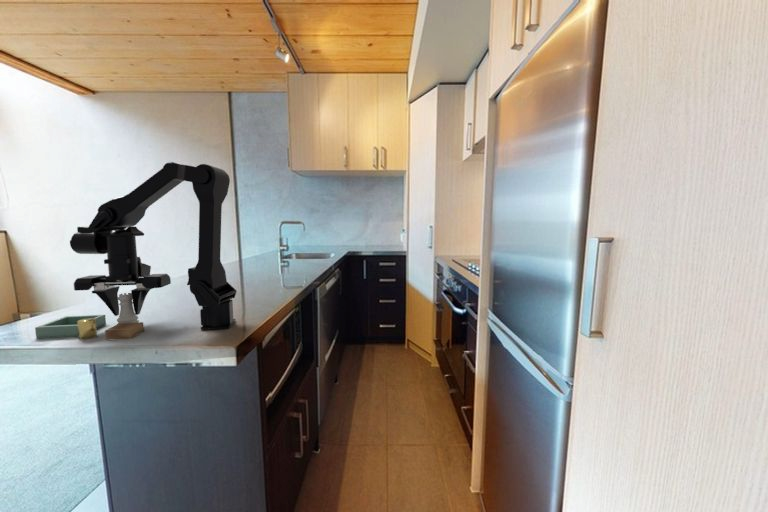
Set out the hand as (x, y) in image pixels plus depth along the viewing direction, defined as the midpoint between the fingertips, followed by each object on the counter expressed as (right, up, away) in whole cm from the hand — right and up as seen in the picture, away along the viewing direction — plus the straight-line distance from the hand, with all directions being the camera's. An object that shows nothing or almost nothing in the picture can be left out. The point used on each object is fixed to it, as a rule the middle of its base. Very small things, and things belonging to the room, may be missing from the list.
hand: (127, 314), depth 80 cm
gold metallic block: (-2, -3, -9) cm, 10 cm away
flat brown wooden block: (+6, -4, -7) cm, 10 cm away
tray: (-9, -3, -5) cm, 11 cm away
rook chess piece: (0, -3, 0) cm, 3 cm away
